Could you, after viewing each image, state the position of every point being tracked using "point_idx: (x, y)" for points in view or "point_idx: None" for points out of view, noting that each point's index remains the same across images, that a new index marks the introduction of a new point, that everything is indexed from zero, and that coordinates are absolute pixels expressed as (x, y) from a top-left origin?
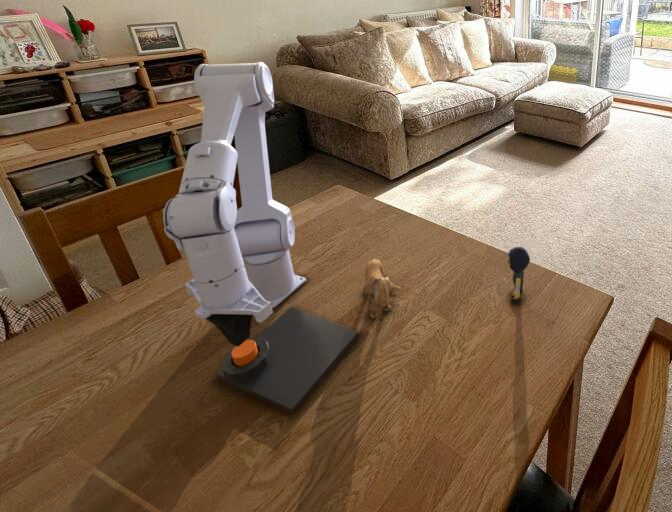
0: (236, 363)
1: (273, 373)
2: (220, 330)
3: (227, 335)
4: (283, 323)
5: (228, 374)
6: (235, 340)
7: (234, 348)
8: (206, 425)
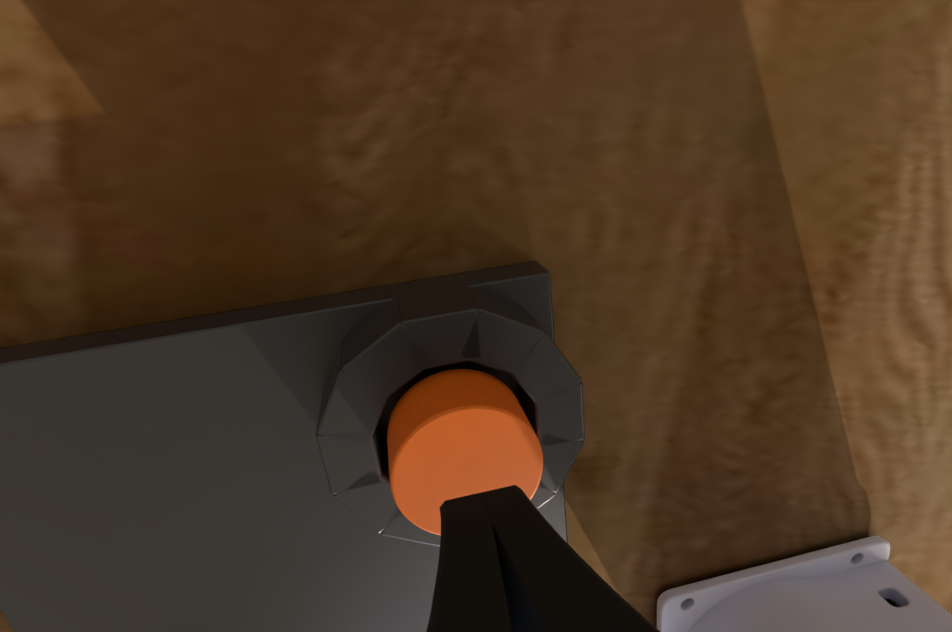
0: (443, 381)
1: (246, 444)
2: (628, 622)
3: (527, 592)
4: None
5: (427, 311)
6: (437, 573)
7: (530, 442)
8: (300, 66)
